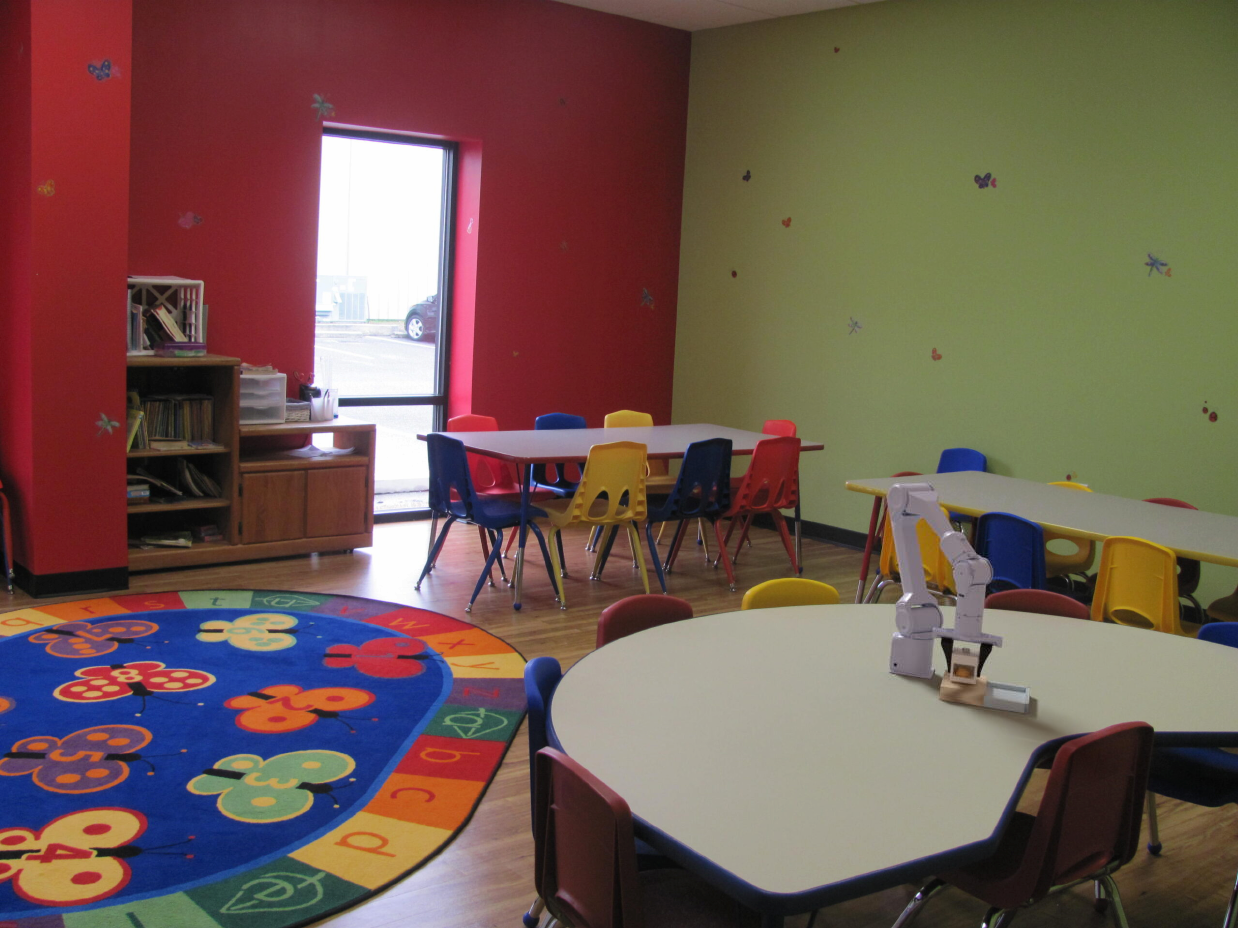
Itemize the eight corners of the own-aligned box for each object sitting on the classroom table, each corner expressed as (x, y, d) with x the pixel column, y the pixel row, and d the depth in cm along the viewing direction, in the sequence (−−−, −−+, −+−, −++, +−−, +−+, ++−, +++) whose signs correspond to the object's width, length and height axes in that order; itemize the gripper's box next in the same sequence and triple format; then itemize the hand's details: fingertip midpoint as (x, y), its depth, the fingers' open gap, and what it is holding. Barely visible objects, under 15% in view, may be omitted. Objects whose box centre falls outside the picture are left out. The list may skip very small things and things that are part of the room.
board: (939, 699, 234) (940, 685, 234) (944, 682, 245) (945, 669, 245) (983, 706, 231) (984, 692, 230) (986, 689, 242) (987, 676, 241)
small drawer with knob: (949, 680, 236) (952, 650, 235) (951, 673, 241) (954, 643, 240) (975, 684, 234) (978, 653, 233) (977, 676, 239) (979, 647, 238)
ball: (954, 681, 237) (955, 668, 236) (955, 677, 240) (956, 664, 239) (968, 683, 236) (969, 670, 235) (969, 679, 238) (970, 666, 238)
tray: (983, 706, 231) (983, 697, 230) (986, 689, 242) (986, 680, 242) (1028, 713, 227) (1029, 704, 227) (1029, 695, 239) (1030, 687, 238)
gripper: (932, 613, 234) (927, 673, 236) (1003, 622, 229) (998, 684, 231) (936, 605, 241) (931, 664, 243) (1005, 614, 236) (999, 674, 237)
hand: (963, 673), depth 237 cm, fingers closed on small drawer with knob, 5 cm apart
